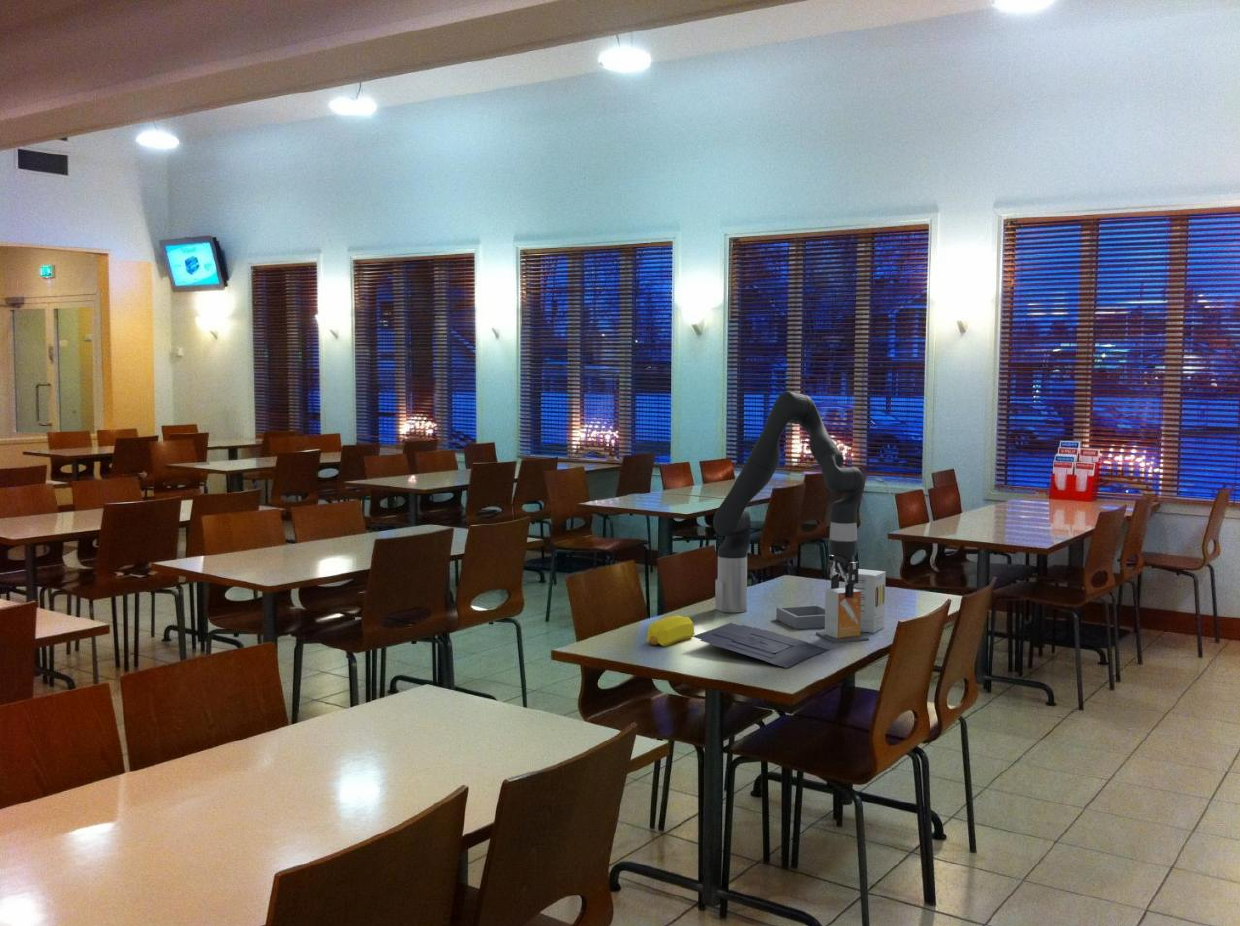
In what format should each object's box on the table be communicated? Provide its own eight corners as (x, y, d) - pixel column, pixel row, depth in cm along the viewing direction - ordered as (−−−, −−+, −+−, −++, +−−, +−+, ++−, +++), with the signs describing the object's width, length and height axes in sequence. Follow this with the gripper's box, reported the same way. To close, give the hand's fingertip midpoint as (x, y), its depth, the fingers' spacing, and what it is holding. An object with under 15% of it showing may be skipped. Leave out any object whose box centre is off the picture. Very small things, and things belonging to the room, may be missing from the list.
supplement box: (874, 633, 315) (875, 575, 314) (843, 629, 320) (844, 572, 319) (885, 627, 323) (886, 570, 322) (855, 623, 328) (856, 567, 327)
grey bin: (796, 628, 321) (796, 617, 320) (776, 618, 334) (776, 607, 334) (839, 625, 325) (839, 614, 324) (818, 616, 338) (818, 604, 338)
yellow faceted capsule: (640, 645, 302) (662, 649, 297) (640, 621, 301) (662, 625, 297) (678, 633, 316) (700, 637, 311) (678, 610, 315) (700, 614, 310)
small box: (837, 639, 306) (838, 593, 305) (824, 634, 311) (824, 589, 310) (861, 636, 309) (861, 590, 308) (847, 631, 315) (847, 586, 314)
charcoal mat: (833, 642, 304) (833, 640, 304) (815, 634, 314) (815, 632, 314) (869, 640, 307) (869, 638, 307) (850, 631, 317) (850, 629, 317)
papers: (732, 630, 314) (734, 618, 313) (828, 658, 296) (829, 645, 296) (686, 647, 294) (688, 634, 294) (785, 678, 277) (787, 664, 276)
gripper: (867, 541, 302) (866, 599, 304) (843, 533, 316) (842, 589, 317) (843, 542, 300) (841, 600, 302) (819, 534, 314) (818, 590, 315)
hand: (841, 594), depth 309 cm, fingers open, 8 cm apart
